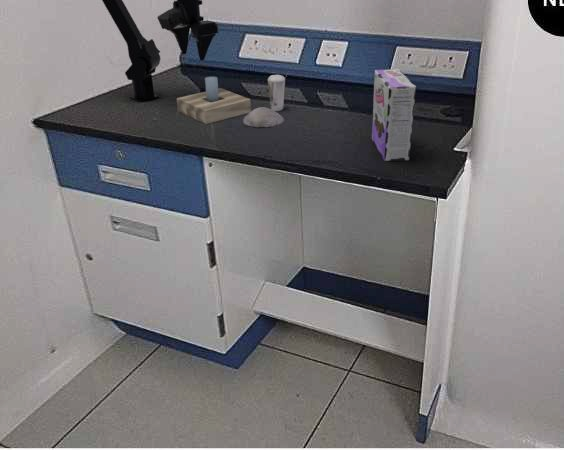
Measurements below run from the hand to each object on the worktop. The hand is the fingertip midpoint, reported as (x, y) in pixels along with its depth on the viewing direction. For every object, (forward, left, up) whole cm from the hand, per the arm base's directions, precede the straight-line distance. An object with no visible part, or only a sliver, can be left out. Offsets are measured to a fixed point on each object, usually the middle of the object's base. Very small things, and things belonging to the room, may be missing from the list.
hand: (192, 57), depth 171 cm
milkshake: (+22, +12, -12) cm, 28 cm away
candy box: (+61, +13, -12) cm, 64 cm away
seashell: (+27, +3, -12) cm, 30 cm away
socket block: (+12, -2, -12) cm, 17 cm away
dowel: (+12, -2, -12) cm, 17 cm away
